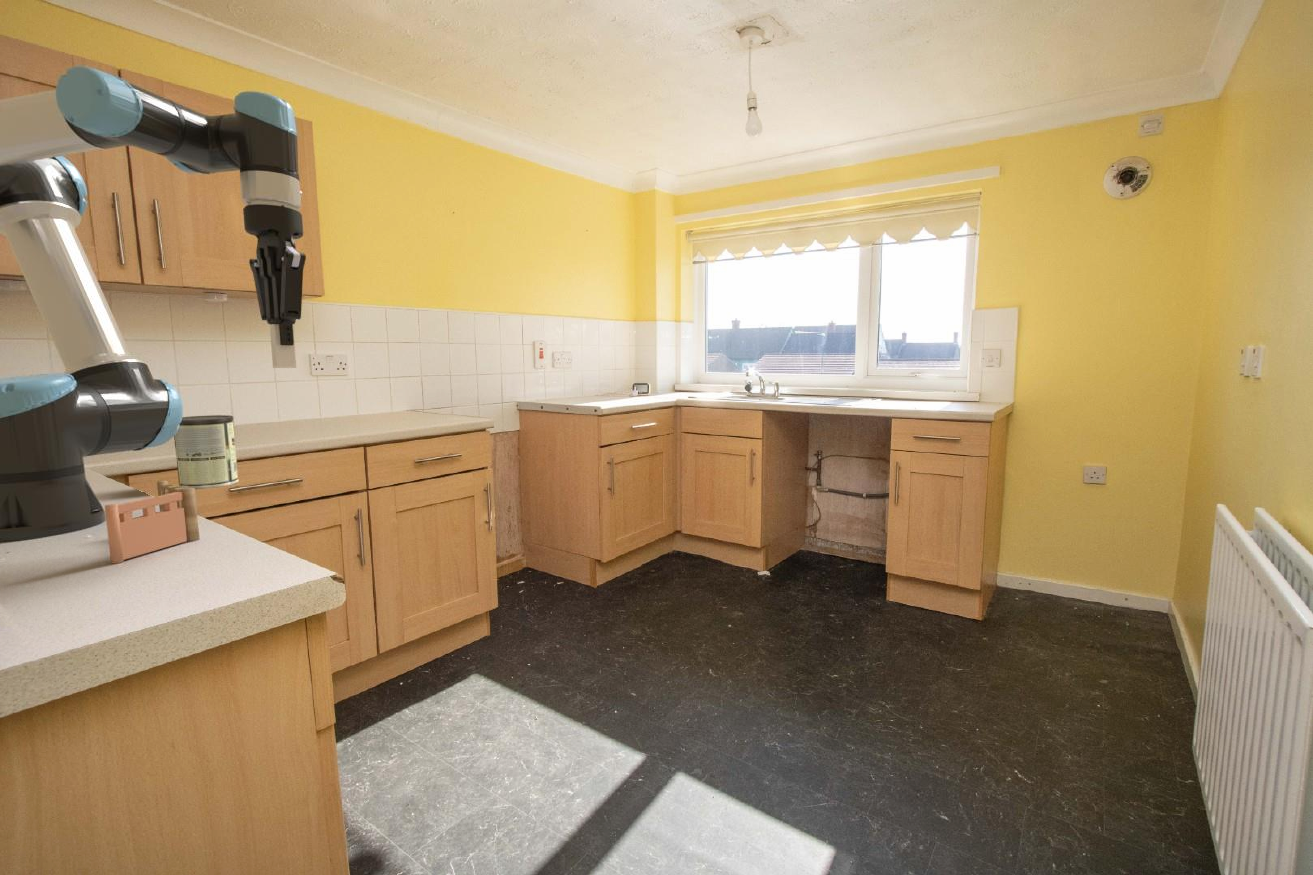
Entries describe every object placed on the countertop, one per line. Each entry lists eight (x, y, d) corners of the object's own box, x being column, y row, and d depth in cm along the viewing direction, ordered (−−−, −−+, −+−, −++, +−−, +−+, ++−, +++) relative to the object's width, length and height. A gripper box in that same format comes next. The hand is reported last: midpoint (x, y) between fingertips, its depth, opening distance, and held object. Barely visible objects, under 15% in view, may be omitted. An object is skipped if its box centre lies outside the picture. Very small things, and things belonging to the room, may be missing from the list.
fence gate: (180, 541, 84) (175, 490, 84) (187, 542, 84) (182, 490, 83) (108, 563, 75) (101, 505, 75) (116, 563, 75) (109, 506, 74)
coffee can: (171, 485, 129) (165, 417, 127) (229, 478, 137) (224, 414, 135) (186, 491, 123) (179, 420, 121) (246, 483, 130) (240, 416, 129)
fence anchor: (159, 532, 91) (153, 481, 90) (172, 529, 92) (167, 480, 91) (187, 544, 84) (182, 490, 83) (201, 542, 86) (196, 488, 85)
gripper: (320, 207, 92) (331, 367, 95) (279, 219, 99) (290, 367, 102) (265, 196, 86) (278, 368, 89) (225, 209, 93) (238, 367, 96)
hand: (284, 367), depth 95 cm, fingers closed
